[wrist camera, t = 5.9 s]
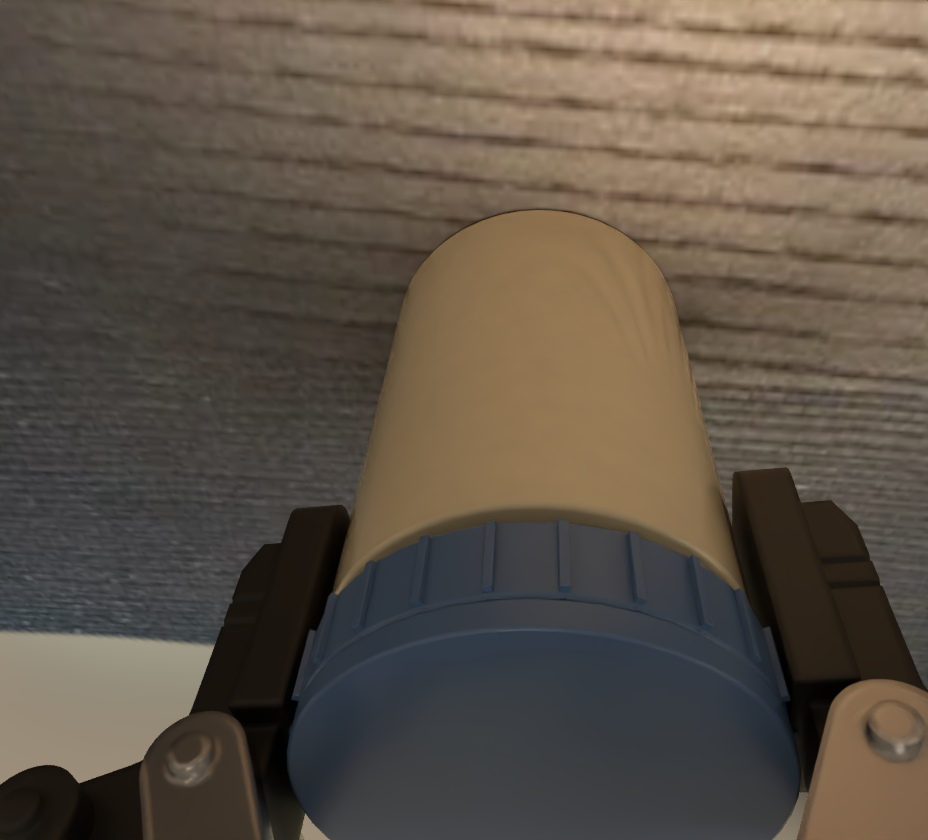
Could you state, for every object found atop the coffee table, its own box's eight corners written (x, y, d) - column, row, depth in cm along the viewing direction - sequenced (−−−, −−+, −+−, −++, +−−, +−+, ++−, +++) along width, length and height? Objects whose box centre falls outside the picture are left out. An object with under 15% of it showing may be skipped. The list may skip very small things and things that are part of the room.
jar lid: (618, 844, 13) (626, 951, 12) (252, 731, 12) (221, 836, 11) (884, 625, 10) (931, 742, 9) (414, 437, 9) (395, 544, 8)
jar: (355, 377, 19) (240, 778, 11) (482, 153, 15) (436, 507, 8) (577, 480, 20) (603, 899, 13) (735, 294, 17) (890, 706, 10)
